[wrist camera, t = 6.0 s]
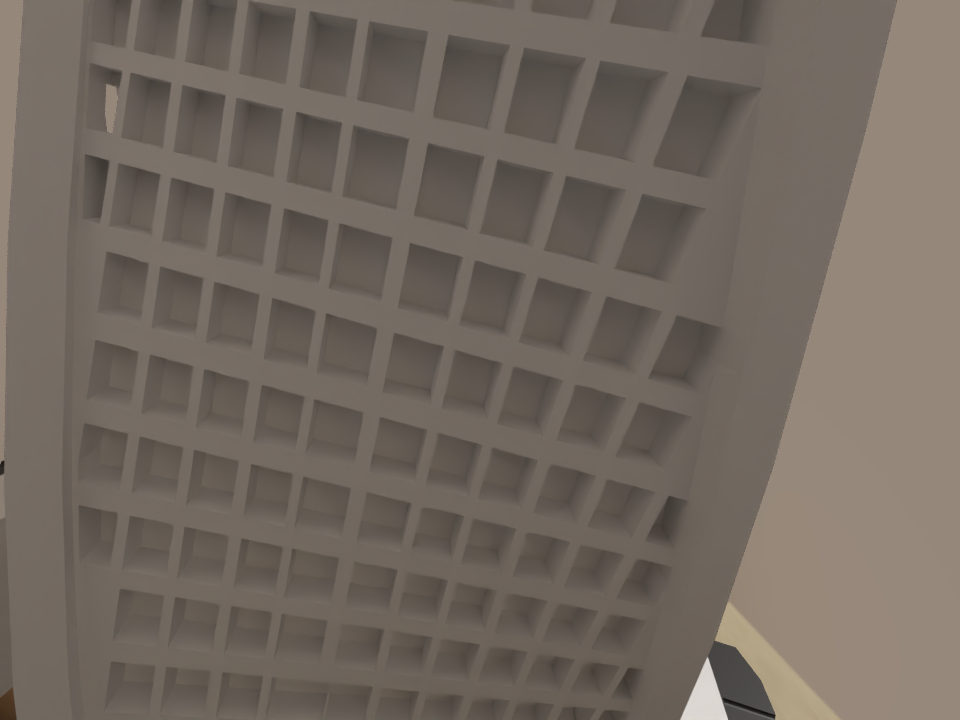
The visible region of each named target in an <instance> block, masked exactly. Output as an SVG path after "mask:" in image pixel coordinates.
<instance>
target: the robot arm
mask: <svg viewBox="0 0 960 720" xmlns="http://www.w3.org/2000/svg"><path fill="white" fill-rule="evenodd" d="M12 687H13V674H12V652H11V630H10V608H9V586H8V564H7V542H6V521H5V499H4V461H2V462H1V464H0V697H2V696H3V695H4V694H5V693H6V692H7V691H9V690H10V689H11V688H12ZM680 720H775V712H774V710H773V708H772V705H771V703H770V701H769V698H768V696H767V694H766V691H765V689H764V686H763V684H762V682H761V680H760V678H759V677H758V676H757V675H756V673H755V672H754V671H753V669H752V668H751V667H750V666H749V664H748V663H747V662H746V660H745V659H744V658H743V657H742V655H741V654H740V653H739V651H738V650H737V649H736V648H735V647H732V646H729V645H726V644H723V643H720V642H717V641H714V643H713V645H712V648H711V650H710V652H709V654H708V657H707V659H706V661H705V664H704V666H703V668H702V671H701V673H700V675H699V678H698V680H697V682H696V684H695V687H694V689H693V691H692V694H691V696H690V698H689V701H688V703H687V705H686V708H685V710H684V712H683V715H682V717H681V719H680Z"/></svg>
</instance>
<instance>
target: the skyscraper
mask: <svg viewBox="0 0 960 720" xmlns="http://www.w3.org/2000/svg"><path fill="white" fill-rule="evenodd" d="M896 3H897V0H24V2H23V18H22V33H21V48H20V63H19V79H18V93H17V109H16V124H15V140H14V154H13V170H12V186H11V201H10V215H9V231H8V258H7V259H8V260H7V324H6V325H7V327H6V388H5V389H6V391H5V392H6V393H5V452H4V453H5V454H4V457H5V458H4V499H5V521H6V542H7V564H8V586H9V608H10V630H11V652H12V674H13V693H14V701H15V709H16V718H17V720H680V719H681V717H682V715H683V712H684V710H685V708H686V705H687V703H688V701H689V698H690V696H691V694H692V691H693V689H694V687H695V684H696V682H697V680H698V678H699V675H700V673H701V671H702V668H703V666H704V664H705V661H706V659H707V657H708V654H709V652H710V650H711V648H712V645H713V643H714V641H715V638H716V635H717V632H718V629H719V626H720V623H721V620H722V617H723V614H724V611H725V608H726V605H727V602H728V599H729V596H730V593H731V590H732V587H733V584H734V581H735V578H736V575H737V572H738V569H739V566H740V564H741V560H742V557H743V555H744V552H745V549H746V546H747V543H748V540H749V537H750V534H751V531H752V528H753V525H754V522H755V519H756V516H757V513H758V510H759V507H760V504H761V501H762V498H763V495H764V492H765V489H766V486H767V484H768V481H769V478H770V474H771V472H772V469H773V466H774V462H775V459H776V455H777V451H778V448H779V444H780V440H781V437H782V433H783V429H784V425H785V422H786V419H787V415H788V411H789V407H790V404H791V400H792V397H793V393H794V390H795V386H796V382H797V379H798V375H799V371H800V368H801V364H802V360H803V357H804V353H805V349H806V346H807V342H808V339H809V335H810V331H811V327H812V324H813V320H814V317H815V313H816V310H817V306H818V302H819V299H820V295H821V291H822V288H823V284H824V280H825V277H826V273H827V270H828V266H829V262H830V259H831V255H832V251H833V248H834V244H835V240H836V237H837V233H838V230H839V226H840V222H841V219H842V215H843V211H844V208H845V204H846V200H847V197H848V193H849V190H850V186H851V182H852V179H853V175H854V171H855V168H856V164H857V161H858V157H859V153H860V150H861V146H862V142H863V139H864V135H865V132H866V127H867V123H868V119H869V115H870V111H871V107H872V103H873V99H874V94H875V90H876V86H877V82H878V78H879V73H880V69H881V65H882V61H883V57H884V53H885V48H886V44H887V40H888V36H889V32H890V28H891V24H892V19H893V15H894V11H895V7H896ZM106 84H108V85H111V86H115V87H116V88H117V94H118V101H117V108H116V114H115V121H114V127H113V134H112V133H108V132H107V127H106V119H105V97H106Z"/></svg>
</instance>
